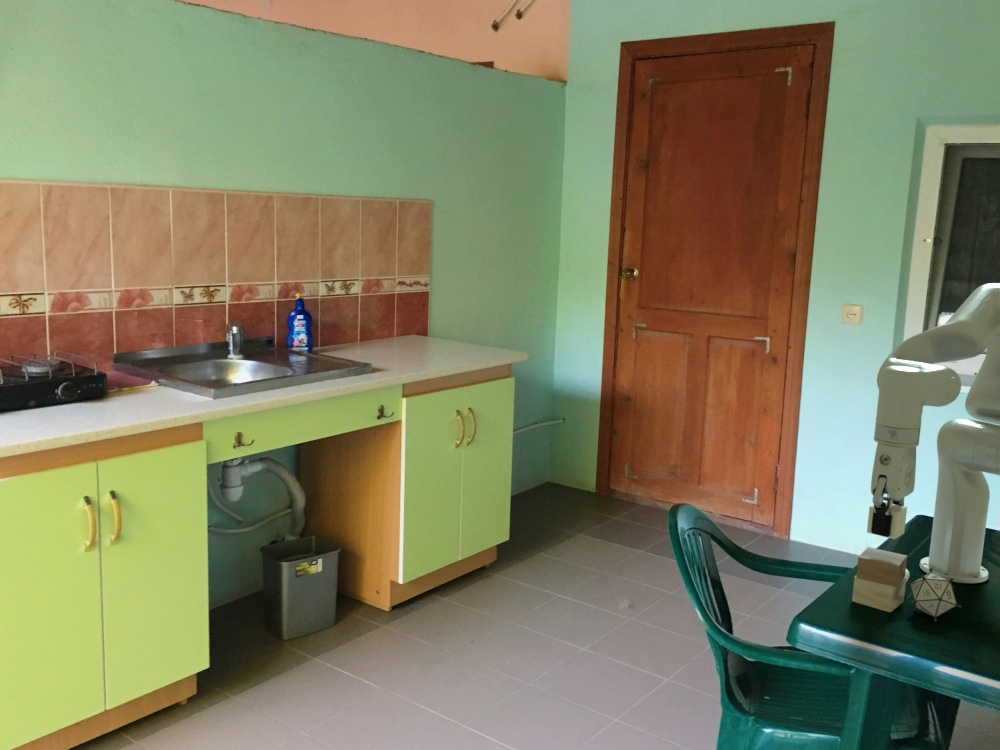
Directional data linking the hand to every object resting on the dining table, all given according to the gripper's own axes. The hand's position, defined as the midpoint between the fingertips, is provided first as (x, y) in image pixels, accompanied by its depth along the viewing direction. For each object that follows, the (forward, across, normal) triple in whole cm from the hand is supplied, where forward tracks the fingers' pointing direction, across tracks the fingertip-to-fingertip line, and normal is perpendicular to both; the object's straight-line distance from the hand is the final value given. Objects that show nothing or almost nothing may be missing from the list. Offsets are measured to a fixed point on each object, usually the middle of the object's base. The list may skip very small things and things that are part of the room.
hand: (886, 530), depth 170 cm
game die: (+14, +1, -9) cm, 17 cm away
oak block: (+14, 0, 0) cm, 14 cm away
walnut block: (+9, 0, 0) cm, 9 cm away
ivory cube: (+1, 0, 0) cm, 1 cm away
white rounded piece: (+14, +8, 0) cm, 16 cm away
